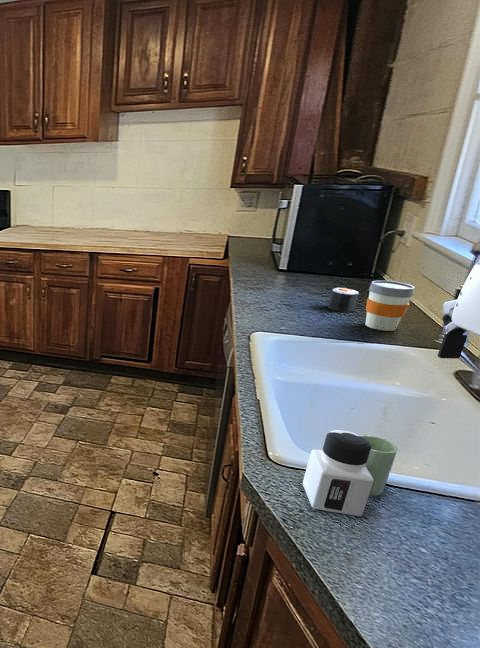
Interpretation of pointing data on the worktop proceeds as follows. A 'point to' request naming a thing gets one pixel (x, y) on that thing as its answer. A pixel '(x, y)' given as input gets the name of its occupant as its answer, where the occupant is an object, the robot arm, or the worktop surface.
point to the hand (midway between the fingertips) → (471, 369)
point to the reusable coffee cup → (387, 304)
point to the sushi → (343, 299)
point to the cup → (380, 462)
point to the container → (339, 474)
